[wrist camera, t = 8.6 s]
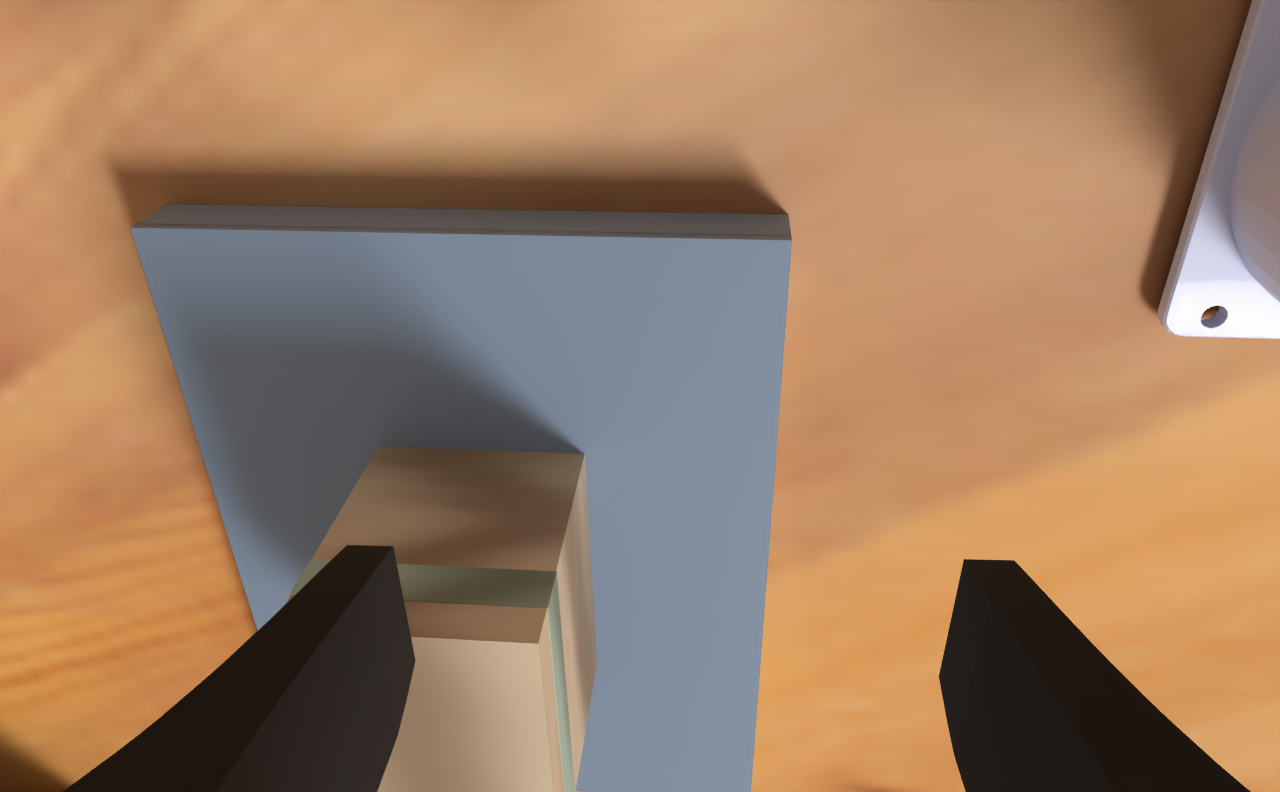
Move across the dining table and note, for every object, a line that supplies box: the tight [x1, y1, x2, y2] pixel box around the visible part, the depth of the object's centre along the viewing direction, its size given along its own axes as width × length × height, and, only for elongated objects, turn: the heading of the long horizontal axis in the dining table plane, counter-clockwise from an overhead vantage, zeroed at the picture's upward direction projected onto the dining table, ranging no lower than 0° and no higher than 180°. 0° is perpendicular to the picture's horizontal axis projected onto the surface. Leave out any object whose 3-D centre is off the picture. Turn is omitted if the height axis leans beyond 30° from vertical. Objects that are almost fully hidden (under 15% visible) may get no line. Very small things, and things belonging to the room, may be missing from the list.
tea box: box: [286, 446, 597, 792], centre depth 21 cm, size 5×7×6 cm
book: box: [130, 204, 792, 792], centre depth 25 cm, size 14×18×2 cm
